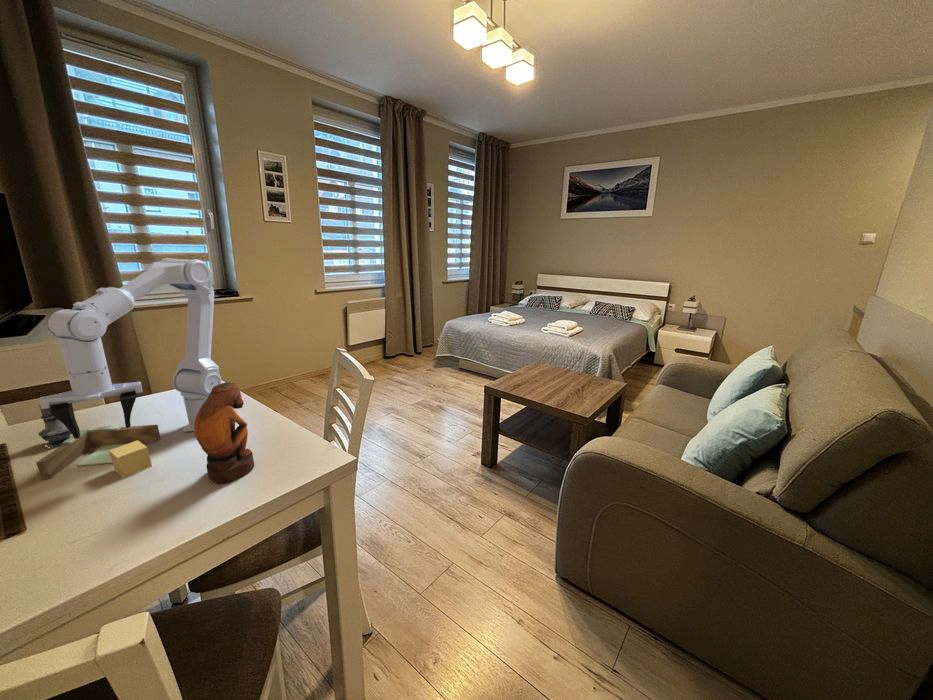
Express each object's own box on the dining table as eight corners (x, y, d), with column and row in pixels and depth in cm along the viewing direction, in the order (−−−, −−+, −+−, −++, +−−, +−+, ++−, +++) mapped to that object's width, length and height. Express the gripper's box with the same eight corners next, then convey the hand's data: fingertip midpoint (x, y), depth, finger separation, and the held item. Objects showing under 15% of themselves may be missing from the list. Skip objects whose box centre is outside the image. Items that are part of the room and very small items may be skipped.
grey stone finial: (54, 450, 87) (39, 404, 83) (35, 447, 88) (19, 401, 84) (84, 438, 92) (70, 394, 89) (66, 435, 94) (51, 391, 90)
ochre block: (142, 459, 85) (137, 440, 83) (152, 466, 82) (147, 447, 81) (114, 470, 81) (108, 450, 79) (123, 478, 78) (117, 457, 77)
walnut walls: (160, 438, 93) (156, 422, 92) (126, 470, 80) (121, 453, 79) (89, 444, 90) (84, 427, 88) (42, 479, 77) (35, 460, 76)
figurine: (264, 463, 85) (251, 382, 79) (225, 488, 76) (208, 400, 70) (235, 455, 87) (221, 376, 81) (195, 478, 79) (176, 392, 73)
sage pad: (141, 443, 91) (141, 442, 91) (120, 462, 83) (120, 460, 83) (102, 446, 89) (102, 445, 89) (78, 466, 82) (77, 464, 81)
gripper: (29, 382, 66) (49, 450, 69) (136, 368, 75) (149, 428, 79) (36, 372, 71) (54, 435, 74) (136, 359, 80) (148, 416, 84)
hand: (103, 431), depth 77 cm, fingers open, 7 cm apart
